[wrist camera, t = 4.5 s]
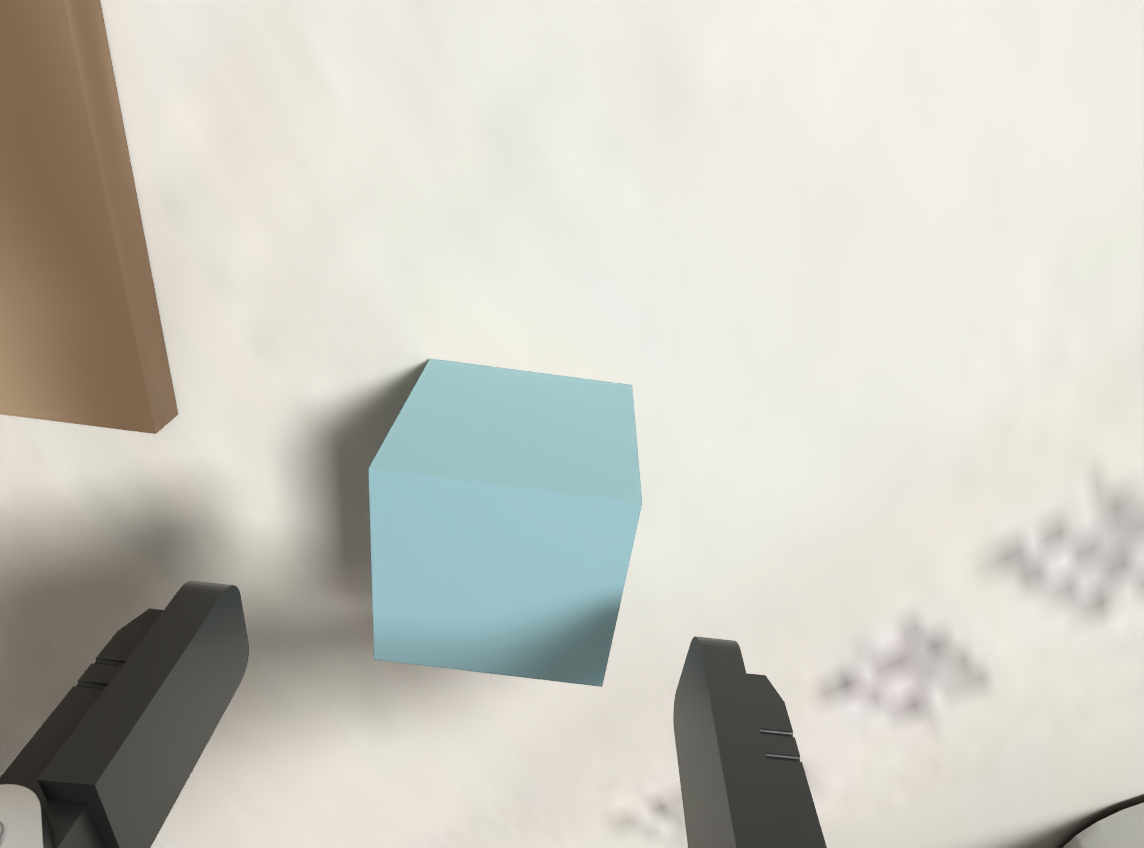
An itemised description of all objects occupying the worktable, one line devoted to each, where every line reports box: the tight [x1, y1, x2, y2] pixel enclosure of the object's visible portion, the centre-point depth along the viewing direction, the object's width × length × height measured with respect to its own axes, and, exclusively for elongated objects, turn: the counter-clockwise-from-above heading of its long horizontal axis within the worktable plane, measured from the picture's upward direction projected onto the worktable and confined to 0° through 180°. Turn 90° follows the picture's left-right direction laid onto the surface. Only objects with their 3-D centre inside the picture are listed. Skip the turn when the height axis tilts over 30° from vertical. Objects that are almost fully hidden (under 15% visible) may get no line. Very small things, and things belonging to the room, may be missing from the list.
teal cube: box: [369, 359, 642, 687], centre depth 16 cm, size 5×5×5 cm
